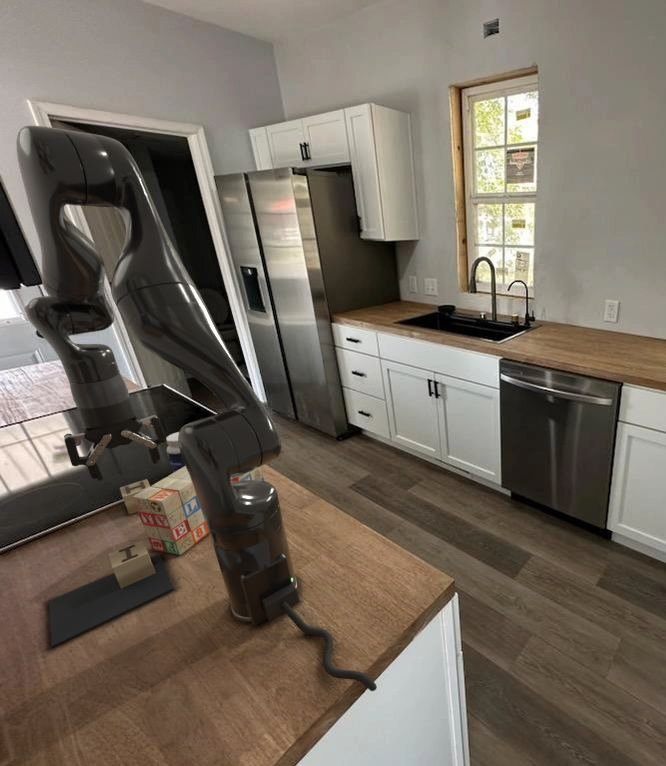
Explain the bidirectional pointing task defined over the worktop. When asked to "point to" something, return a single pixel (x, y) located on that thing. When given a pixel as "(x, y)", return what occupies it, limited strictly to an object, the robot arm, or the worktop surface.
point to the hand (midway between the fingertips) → (128, 470)
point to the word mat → (103, 602)
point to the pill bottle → (174, 452)
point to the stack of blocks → (176, 511)
